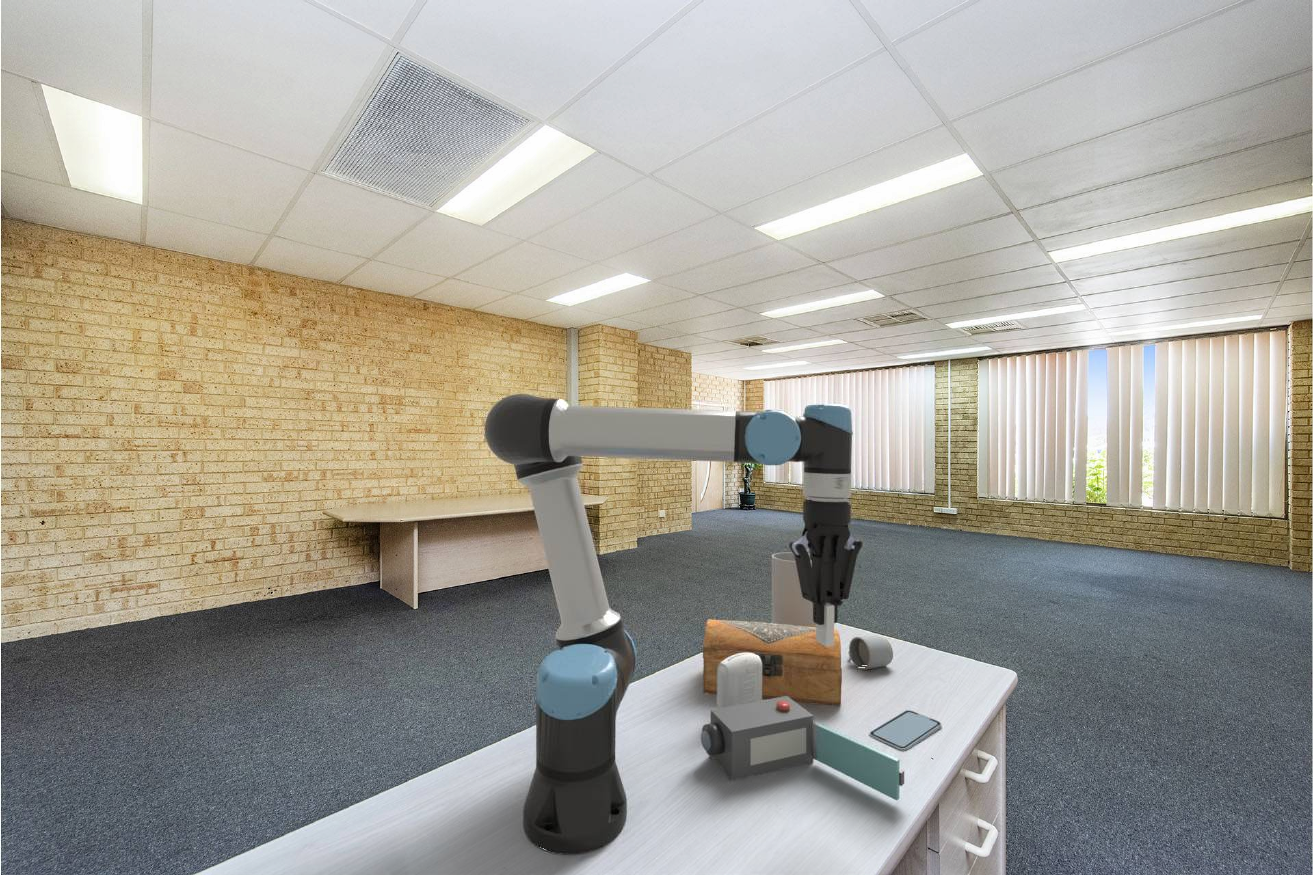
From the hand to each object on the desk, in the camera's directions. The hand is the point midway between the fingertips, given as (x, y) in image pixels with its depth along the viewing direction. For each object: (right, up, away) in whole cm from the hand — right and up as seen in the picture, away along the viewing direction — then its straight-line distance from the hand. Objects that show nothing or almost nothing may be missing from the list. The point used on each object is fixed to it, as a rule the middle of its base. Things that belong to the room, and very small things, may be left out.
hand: (824, 643), depth 89 cm
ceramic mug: (+26, -24, +49) cm, 60 cm away
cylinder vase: (+10, -24, +59) cm, 65 cm away
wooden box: (-1, -24, +36) cm, 43 cm away
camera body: (-10, -23, +7) cm, 26 cm away
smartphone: (+21, -24, +17) cm, 36 cm away
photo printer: (-11, -24, +23) cm, 34 cm away
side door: (+5, -22, 0) cm, 23 cm away
